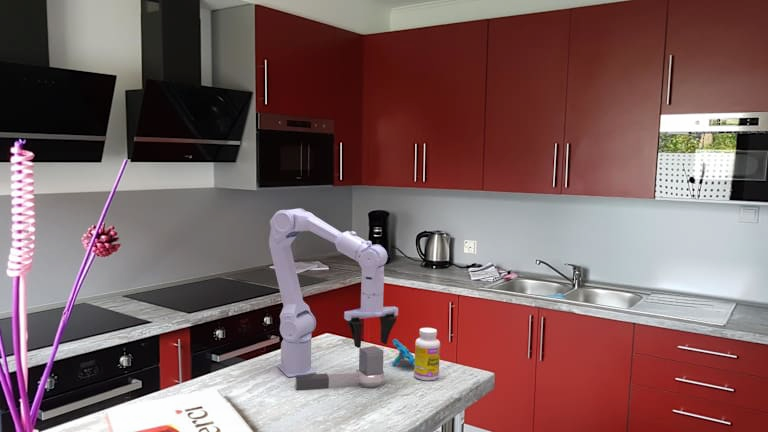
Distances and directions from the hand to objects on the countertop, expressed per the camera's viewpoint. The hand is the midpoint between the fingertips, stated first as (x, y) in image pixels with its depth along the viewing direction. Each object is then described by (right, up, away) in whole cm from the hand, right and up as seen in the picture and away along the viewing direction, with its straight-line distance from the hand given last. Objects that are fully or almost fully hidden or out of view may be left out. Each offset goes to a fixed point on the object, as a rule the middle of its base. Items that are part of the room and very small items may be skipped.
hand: (370, 344), depth 150 cm
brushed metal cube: (0, -7, 0) cm, 7 cm away
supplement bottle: (+15, -10, +7) cm, 19 cm away
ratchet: (-8, -10, -1) cm, 13 cm away
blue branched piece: (+9, -9, +15) cm, 20 cm away
